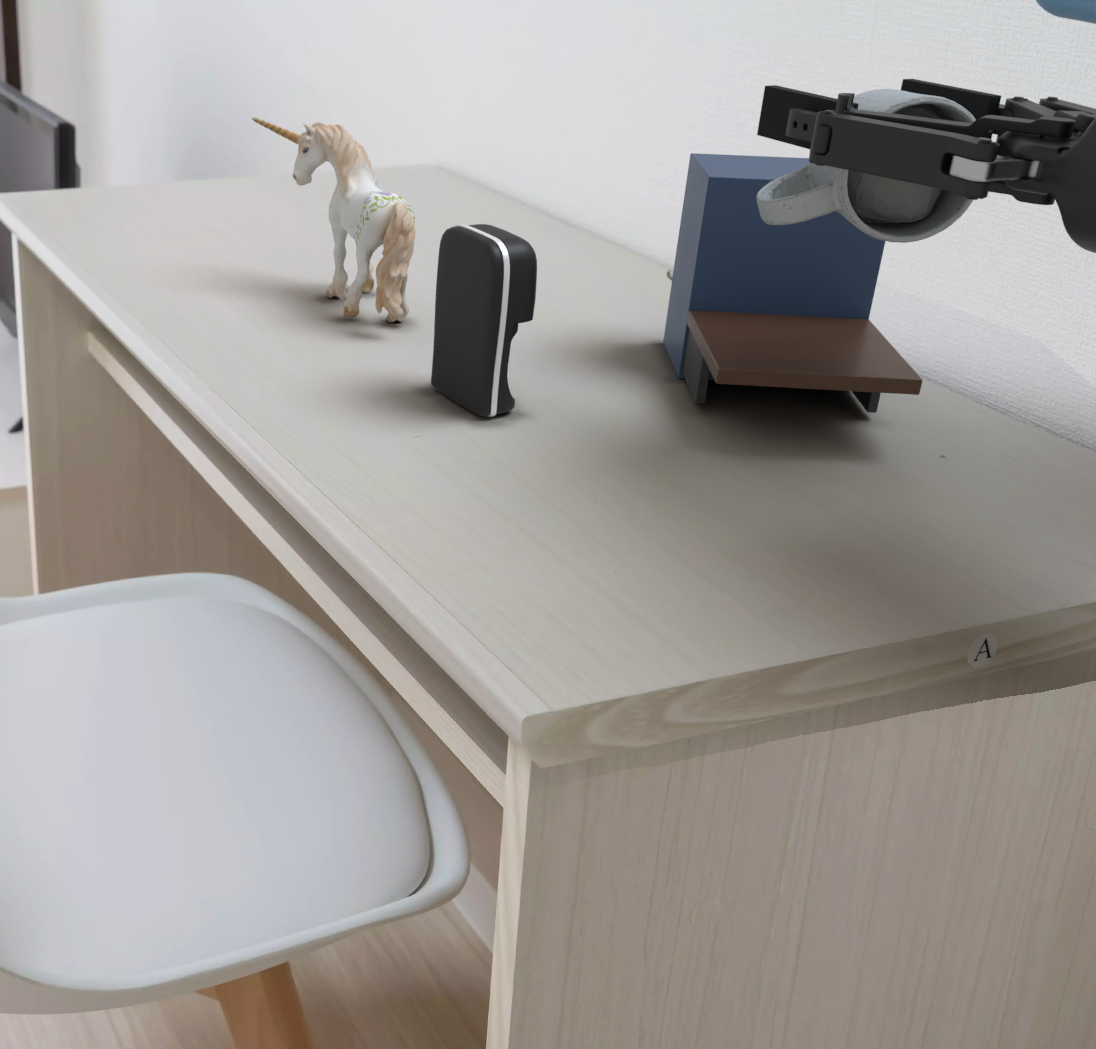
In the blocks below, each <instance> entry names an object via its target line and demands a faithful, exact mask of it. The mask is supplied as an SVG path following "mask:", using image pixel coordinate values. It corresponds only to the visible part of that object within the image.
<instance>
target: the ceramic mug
mask: <svg viewBox="0 0 1096 1049" xmlns="http://www.w3.org/2000/svg"><path fill="white" fill-rule="evenodd" d="M853 102H854V103H858V104H859V105H858V109H860V110H868V111H876V112H884V113H892V114H900V115H908V116H917V117H925V118H933V119H941V120H949V121H957V122H966V123H973V122H974V121H975V120H976V119H975V118H974V116H973V115H972V114H971V113H970V112H969V111H968V110H966V109H965V108H964V107H963V106H961V105H959V104H958V103H956V102H954V101H952V100H949V99H946V98H944V97H939V96H932V95H923V94H917V93H911V92H907V91H902V90H901V89H896V88H879V89H878V88H877V89H872V90H867V91H864V92H861V93H857V94H855V95H854V100H853ZM756 198H757V204H758V208H759V212H760V216H761V218H762V220H763V221H764V222H765V223H766V224H769V225H787V224H794V223H799V222H804V221H807V220H810V219H813V218H816V217H820V216H823V215H826V214H829V213H832V212H834V211H837V212H839V213H840V214H841V215H842V216H843V217H845V218H846V219H847V220H848V221H849V222H851V223H852V224H853V225H854V226H856V227H857V228H858V229H859V230H861V231H862V232H864V233H866V234H867V235H869V236H871V237H873V238H876V239H879V240H883V241H885V242H888V243H899V244H901V243H903V244H906V243H914V242H919V241H923V240H926V239H928V238H931V237H933V236H936V235H937V234H939V233H941V232H944V231H945V230H947V229H948V228H949V227H951V226H952V225H953V224H954V223H955V222H957V221H958V220H959V219H961V217H962V216H963V215H964V214H965V213H966V211H967V210H968V209H969V207H970V206H971V205H972V203H973V201H974V200H971V199H967V197H965V196H961V195H958V194H955V193H952V192H948V191H945V190H942V189H939V188H934V187H929V186H925V185H920V184H915V183H910V182H905V181H900V180H895V179H890V178H885V177H880V176H875V175H870V174H865V173H860V172H855V171H850V170H845V169H841V168H836V167H831V166H826V165H825V166H819V165H815V163H810V162H809V163H808V165H807V166H805V167H803V168H800V169H797V170H795V171H793V172H791V173H789V174H787V175H784V176H781V177H779V178H777V179H775V180H774V181H771V182H770V183H768V184H767V185H766V186H764V187H763V188H762V189H761V190H760V191H759V192H758V194H757V197H756Z"/></svg>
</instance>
